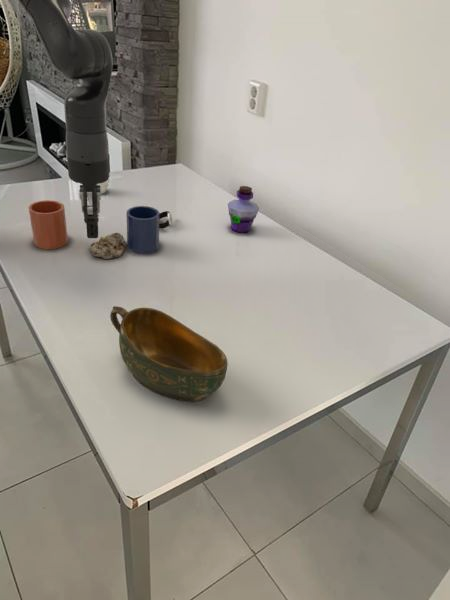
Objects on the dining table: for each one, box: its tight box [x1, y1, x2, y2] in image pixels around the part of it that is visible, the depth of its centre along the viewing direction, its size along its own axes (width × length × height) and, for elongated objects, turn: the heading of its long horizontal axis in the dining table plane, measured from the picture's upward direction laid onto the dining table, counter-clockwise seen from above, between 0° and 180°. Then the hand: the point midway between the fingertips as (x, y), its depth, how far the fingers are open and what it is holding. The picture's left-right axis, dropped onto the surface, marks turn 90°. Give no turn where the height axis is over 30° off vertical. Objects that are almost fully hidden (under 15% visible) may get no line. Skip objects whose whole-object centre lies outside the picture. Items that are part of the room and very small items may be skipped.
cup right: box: [125, 205, 160, 255], centre depth 109 cm, size 8×8×9 cm
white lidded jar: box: [97, 178, 110, 194], centre depth 135 cm, size 6×6×7 cm
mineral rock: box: [89, 232, 127, 260], centre depth 108 cm, size 11×4×8 cm
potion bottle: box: [227, 185, 260, 234], centre depth 122 cm, size 9×9×12 cm
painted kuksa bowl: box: [109, 305, 228, 402], centre depth 73 cm, size 13×20×10 cm, turn 33°
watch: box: [159, 210, 173, 230], centre depth 122 cm, size 8×5×4 cm, turn 179°
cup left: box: [28, 200, 69, 250], centre depth 106 cm, size 8×8×9 cm
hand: (92, 236), depth 94 cm, fingers closed
